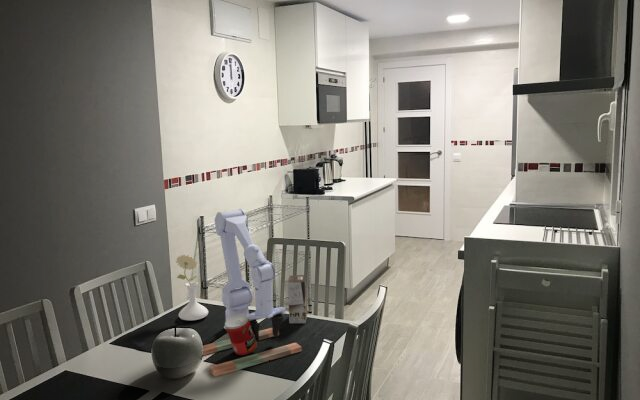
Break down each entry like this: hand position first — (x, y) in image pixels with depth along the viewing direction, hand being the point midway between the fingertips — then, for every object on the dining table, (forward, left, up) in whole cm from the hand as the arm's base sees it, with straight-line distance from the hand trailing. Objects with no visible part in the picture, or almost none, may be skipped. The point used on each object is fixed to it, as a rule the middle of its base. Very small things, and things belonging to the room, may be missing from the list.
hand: (266, 338), depth 175 cm
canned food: (0, -7, -2) cm, 7 cm away
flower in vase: (-41, -12, -3) cm, 43 cm away
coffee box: (-15, +21, -3) cm, 26 cm away
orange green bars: (0, -7, -3) cm, 8 cm away
